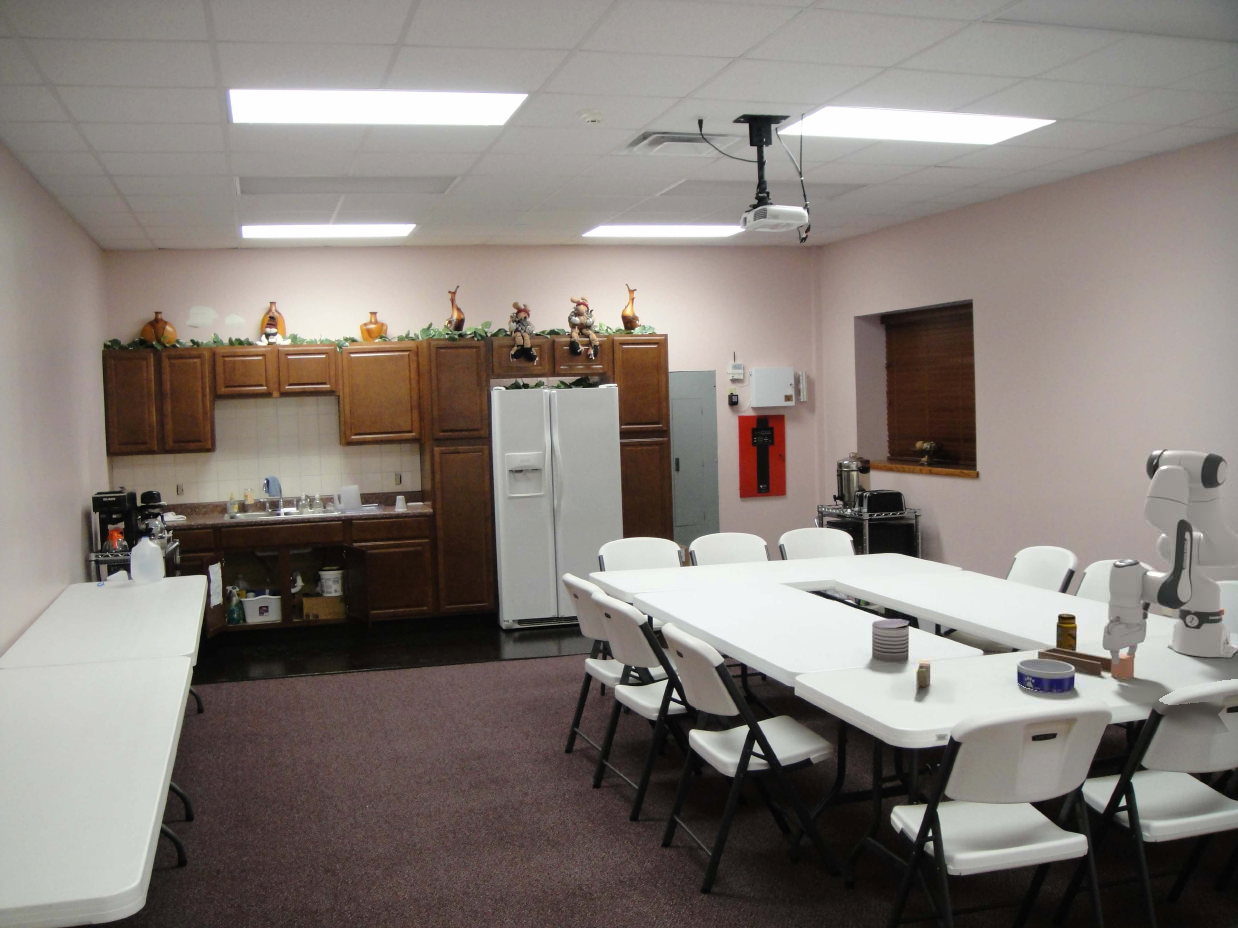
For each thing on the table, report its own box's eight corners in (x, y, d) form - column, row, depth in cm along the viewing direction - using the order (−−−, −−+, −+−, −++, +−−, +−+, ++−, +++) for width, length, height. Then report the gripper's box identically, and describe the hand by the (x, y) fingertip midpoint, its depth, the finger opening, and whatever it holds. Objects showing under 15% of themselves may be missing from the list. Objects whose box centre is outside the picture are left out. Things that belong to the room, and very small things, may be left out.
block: (1118, 673, 297) (1118, 653, 296) (1133, 676, 293) (1134, 656, 293) (1111, 676, 294) (1111, 656, 294) (1126, 679, 290) (1127, 659, 290)
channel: (1051, 657, 315) (1051, 646, 315) (1112, 669, 300) (1112, 658, 300) (1037, 662, 310) (1038, 651, 310) (1099, 674, 295) (1099, 663, 295)
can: (907, 664, 309) (908, 626, 309) (870, 661, 313) (870, 624, 312) (909, 655, 320) (909, 618, 319) (873, 652, 324) (873, 616, 323)
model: (930, 685, 288) (930, 659, 287) (928, 695, 278) (928, 668, 277) (918, 684, 289) (918, 658, 288) (916, 694, 279) (916, 667, 278)
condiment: (1080, 654, 319) (1081, 617, 319) (1053, 653, 320) (1054, 617, 319) (1072, 648, 327) (1073, 612, 326) (1046, 648, 327) (1046, 612, 327)
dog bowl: (1008, 686, 285) (1008, 665, 285) (1028, 675, 296) (1028, 655, 296) (1063, 696, 275) (1064, 675, 274) (1082, 684, 286) (1082, 664, 285)
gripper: (1119, 621, 283) (1118, 668, 284) (1150, 612, 296) (1149, 657, 297) (1097, 617, 288) (1096, 664, 289) (1129, 608, 301) (1128, 653, 302)
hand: (1123, 661), depth 293 cm, fingers open, 8 cm apart
